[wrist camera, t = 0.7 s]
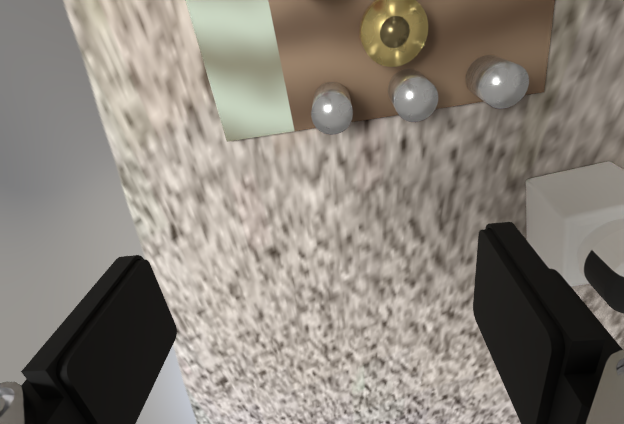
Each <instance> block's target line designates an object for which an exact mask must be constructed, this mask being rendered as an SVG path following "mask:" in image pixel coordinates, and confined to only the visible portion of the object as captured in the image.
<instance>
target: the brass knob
mask: <svg viewBox="0 0 624 424" xmlns="http://www.w3.org/2000/svg"><path fill="white" fill-rule="evenodd" d="M359 33H360V40H361V43H362V45H363V47H364V49H365V51H366V53H367V54H368V56H369V57H370V58H371V59H372V60H373V61H375V62H376V63H378V64H380V65H383V66H387V67H397V66H401V65H404V64H406V63H408V62H409V61H411V60H412V59H414V58H415V57H416V56H417V55H418V54H419V52H420V51H421V50H422V48H423V46H424V44H425V42H426V39H427V35H428V20H427V16H426V13H425V11H424V9H423V7H422V6H421V5H420V4H419V3H418V2H417V1H416V0H375V1H374V2H372V3H371V4H370V5H369V6H368V8H367V9H366V11H365V12H364V14H363V16H362V19H361V22H360V29H359Z"/></svg>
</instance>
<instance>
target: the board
mask: <svg viewBox="0 0 624 424" xmlns="http://www.w3.org/2000/svg"><path fill="white" fill-rule="evenodd" d="M185 1H186V4H187V7H188V11H189V14H190V18H191V21H192V24H193V28H194V31H195V34H196V38H197V41H198V45H199V48H200V51H201V55H202V58H203V62H204V65H205V68H206V72H207V75H208V79H209V82H210V85H211V89H212V92H213V96H214V99H215V102H216V106H217V109H218V113H219V116H220V119H221V123H222V126H223V130H224V133H225V136H226V140H227V142H228V141H234V140H241V139H247V138H253V137H260V136H266V135H273V134H279V133H285V132H292V131H298V130H305V129H311V128H316V127H315V125H314V123H313V121H312V118H311V111H312V105H313V99H314V95H315V92H316V91H317V89H318V88H319V87H320V86H321V85H323V84H324V83H327V82H337V83H340V84H342V85H343V86H345V87H346V89H347V90H348V92H349V94H350V99H351V104H352V110H353V117H352V121H351V122H356V121H362V120H368V119H375V118H381V117H388V116H394V115H399V114H398V113H397V111H396V109H395V107H394V106H393V104H392V102H391V100H390V98H389V95H388V85H389V82H390V80H391V78H392V77H393V76H394V75H395V74H396V73H397V72H399V71H401V70H403V69H415V70H417V71H419V72H420V73H421V74H422V75H423V76H424V77H426V78H427V79H428V80H429V81H430V82H431V83H432V84H433V85H434V86H435V88H436V89H437V92H438V104H437V106H436V109H439V108H445V107H452V106H458V105H464V104H471V103H477V102H484V101H483V100H482V99H480V98H479V97H478V96H476V95H475V94H473V93H472V92H471V91H470V90H469V89H468V87H467V85H466V73H467V70H468V68H469V67H470V65H471V64H472V63H473V62H474V61H475V60H476V59H478V58H480V57H482V56H485V55H495V56H497V57H500V58H503V59H505V60H508V61H510V62H513V63H515V64H518V65H520V66H522V67H523V68H524V69H525V70H526V71H527V73H528V76H529V85H528V89H527V91H526V93H525V95H528V94H535V93H541V92H544V88H545V79H546V71H547V63H548V54H549V46H550V37H551V29H552V21H553V12H554V4H555V0H416V1H417V2H418V3H419V4H420V5H421V6H422V7H423V9H424V11H425V13H426V16H427V20H428V35H427V39H426V42H425V44H424V46H423V48H422V50H421V51H420V52H419V54H418V55H417V56H416V57H415V58H414V59H412V60H411V61H409V62H408V63H406V64H404V65H401V66H397V67H387V66H383V65H380V64H378V63H376V62H375V61H373V60H372V59H371V58H370V57H369V56H368V54H367V53H366V51H365V49H364V47H363V45H362V43H361V40H360V33H359V29H360V22H361V19H362V16H363V14H364V12H365V11H366V9H367V8H368V6H369V5H370V4H371V3H372V2H374V1H375V0H185Z"/></svg>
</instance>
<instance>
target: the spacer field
mask: <svg viewBox="0 0 624 424" xmlns="http://www.w3.org/2000/svg"><path fill="white" fill-rule="evenodd" d="M466 85H467V87H468V89H469V90H470V91H471V92H472V93H473V94H475V95H476V96H478V97H479V98H480V99H482V100H483V101H485V102H486V103H487V104H489V105H490V106H492V107H494V108H498V109H502V108H508V107H511V106H513V105H514V104H516V103H517V102H519V101H520V100H521V99H522V98H523V96H524V95H525V93H526V91H527V89H528V85H529V76H528V73H527V71H526V70H525V69H524V68H523V67H522V66H520V65H518V64H515V63H513V62H510V61H508V60H505V59H503V58H500V57H497V56H495V55H485V56H482V57H480V58H478V59H476V60H475V61H474V62H473V63H472V64H471V65H470V67H469V68H468V70H467V73H466ZM388 95H389V98H390V100H391V102H392V104H393V106H394V107H395V109H396V111H397V113H398V114H399V116H400V117H401V118H403V119H404V120H406V121H410V122H418V121H422V120H424V119H426V118H428V117H429V116H430V115H431V114H432V113H433V112H434V110H435V109H436V106H437V104H438V92H437V89H436V88H435V86H434V85H433V84H432V83H431V82H430V81H429V80H428V79H427V78H426V77H424V76H423V75H422V74H421V73H420V72H419V71H417V70H415V69H403V70H401V71H399V72H397V73H396V74H395V75H394V76H393V77H392V78H391V80H390V82H389V85H388ZM352 117H353V110H352V104H351V99H350V94H349V92H348V90H347V89H346V87H345V86H343V85H342V84H340V83H337V82H327V83H324V84H323V85H321V86H320V87H319V88H318V89H317V91H316V92H315V95H314V99H313V105H312V111H311V118H312V121H313V123H314V125H315V127H316V128H317V129H318V130H319V131H321V132H323V133H325V134H331V135H333V134H338V133H341V132H343V131H344V130H345V129H346V128H347V127H348V126H349V125H350V123H351V121H352Z"/></svg>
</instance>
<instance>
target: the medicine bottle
mask: <svg viewBox="0 0 624 424" xmlns="http://www.w3.org/2000/svg"><path fill="white" fill-rule="evenodd" d="M526 228H527V241H528V243H529V244H530V245H531V246H532V248H533V249H534V250H535V251H536V253H537V254H538V255H539V256H540V258H541V259H542V260H543V261H544V263H545V264H546V265H547V266H548V268H549V269H554V270H556V271H558V272H559V273H560V274H561V276H562V277H563V278H564V279H565V280H566V282H567V283H568V284H569V285H570V286H571V287H573V286H578V285H584V284H591V286H592V287H593V288H594V289H595V290H596V291H597V292H598V293H599V295H600V296H601V297H602V298H603V299H604V300H605V301H606V302H607V304H608V305H609V306H610V307H611V308H613V309H614V310H616V311H618V312H621V313H624V169H622V168H620V167H619V166H617V165H615V164H614V163H612V162H610V161H607V162H602V163H598V164H593V165H589V166H584V167H580V168H575V169H571V170H566V171H562V172H557V173H553V174H548V175H544V176H539V177H535V178H530V179H527V181H526Z"/></svg>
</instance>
